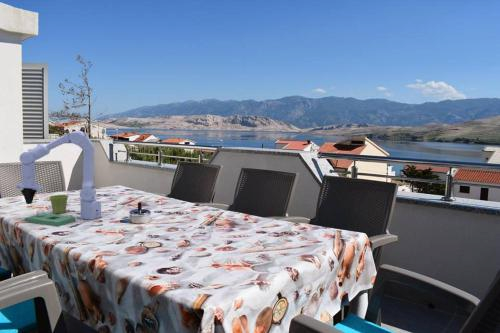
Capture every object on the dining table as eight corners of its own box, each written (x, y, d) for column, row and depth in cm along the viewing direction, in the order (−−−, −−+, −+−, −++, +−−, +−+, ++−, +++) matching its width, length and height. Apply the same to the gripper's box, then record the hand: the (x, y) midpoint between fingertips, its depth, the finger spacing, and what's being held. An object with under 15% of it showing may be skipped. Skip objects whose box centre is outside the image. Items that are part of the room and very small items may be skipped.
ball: (46, 215, 194) (46, 208, 193) (40, 217, 191) (40, 210, 190) (40, 215, 195) (40, 208, 195) (34, 216, 192) (34, 209, 191)
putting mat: (75, 221, 193) (75, 217, 193) (57, 226, 183) (57, 222, 182) (43, 216, 199) (43, 213, 199) (24, 221, 189) (24, 217, 189)
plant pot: (54, 215, 204) (54, 198, 203) (46, 212, 209) (45, 196, 208) (72, 212, 211) (72, 196, 210) (63, 209, 217) (62, 194, 216)
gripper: (10, 176, 192) (11, 203, 193) (32, 178, 187) (33, 206, 188) (22, 174, 198) (23, 201, 200) (45, 176, 193) (45, 203, 195)
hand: (29, 203), depth 194 cm, fingers closed
